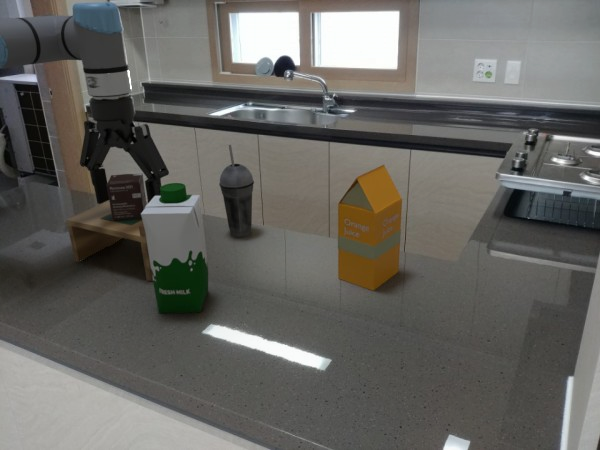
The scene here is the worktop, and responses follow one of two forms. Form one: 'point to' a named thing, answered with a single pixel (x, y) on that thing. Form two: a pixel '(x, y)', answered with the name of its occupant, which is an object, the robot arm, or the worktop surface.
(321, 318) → the worktop surface
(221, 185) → the beverage cup
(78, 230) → the shelf
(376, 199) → the orange juice
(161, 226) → the milk carton
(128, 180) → the box
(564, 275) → the worktop surface
